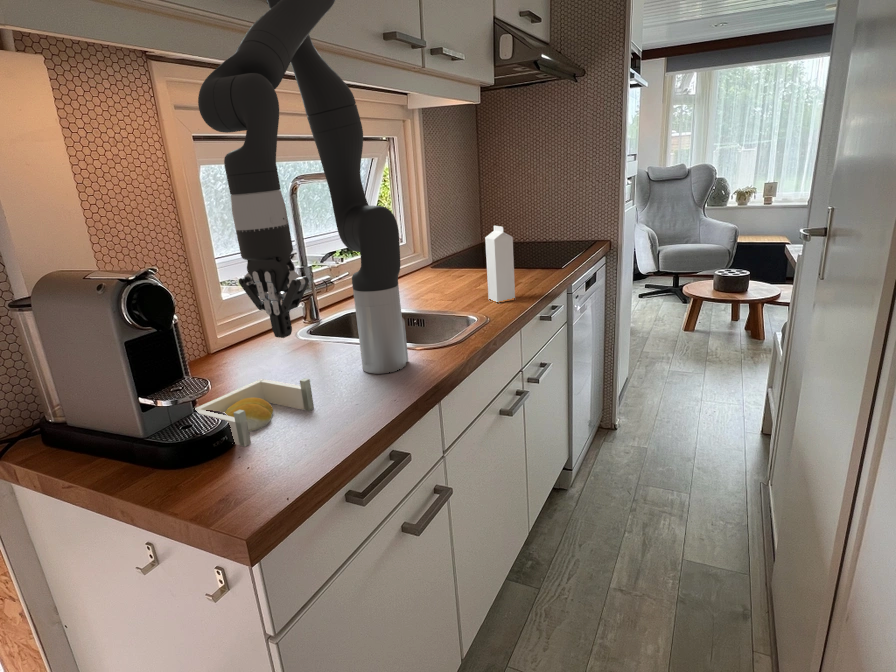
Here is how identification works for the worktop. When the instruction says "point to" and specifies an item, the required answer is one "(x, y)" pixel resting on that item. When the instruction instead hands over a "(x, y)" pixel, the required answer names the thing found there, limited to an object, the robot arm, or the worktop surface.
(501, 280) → the milk
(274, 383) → the holder
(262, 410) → the bread roll
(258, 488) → the worktop surface
